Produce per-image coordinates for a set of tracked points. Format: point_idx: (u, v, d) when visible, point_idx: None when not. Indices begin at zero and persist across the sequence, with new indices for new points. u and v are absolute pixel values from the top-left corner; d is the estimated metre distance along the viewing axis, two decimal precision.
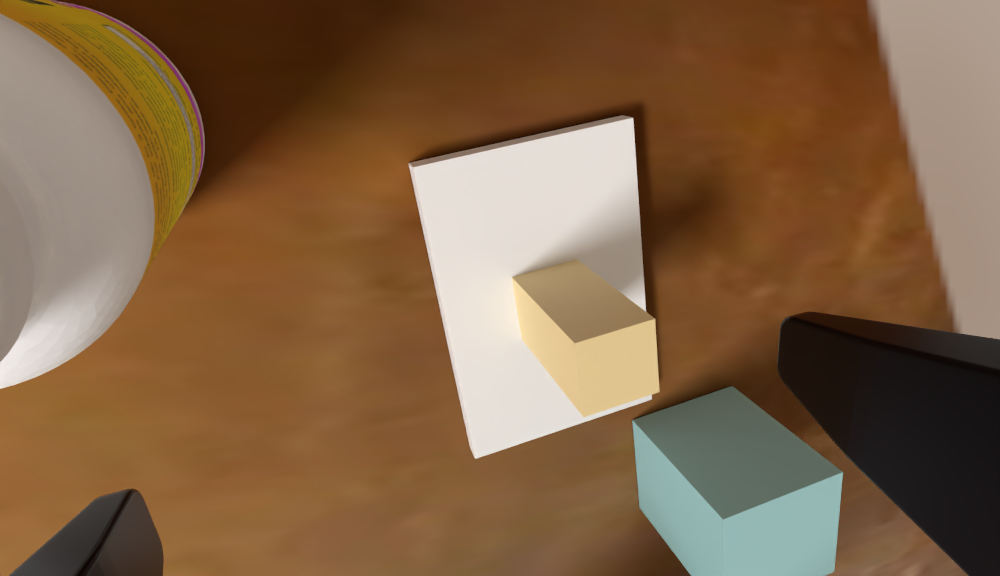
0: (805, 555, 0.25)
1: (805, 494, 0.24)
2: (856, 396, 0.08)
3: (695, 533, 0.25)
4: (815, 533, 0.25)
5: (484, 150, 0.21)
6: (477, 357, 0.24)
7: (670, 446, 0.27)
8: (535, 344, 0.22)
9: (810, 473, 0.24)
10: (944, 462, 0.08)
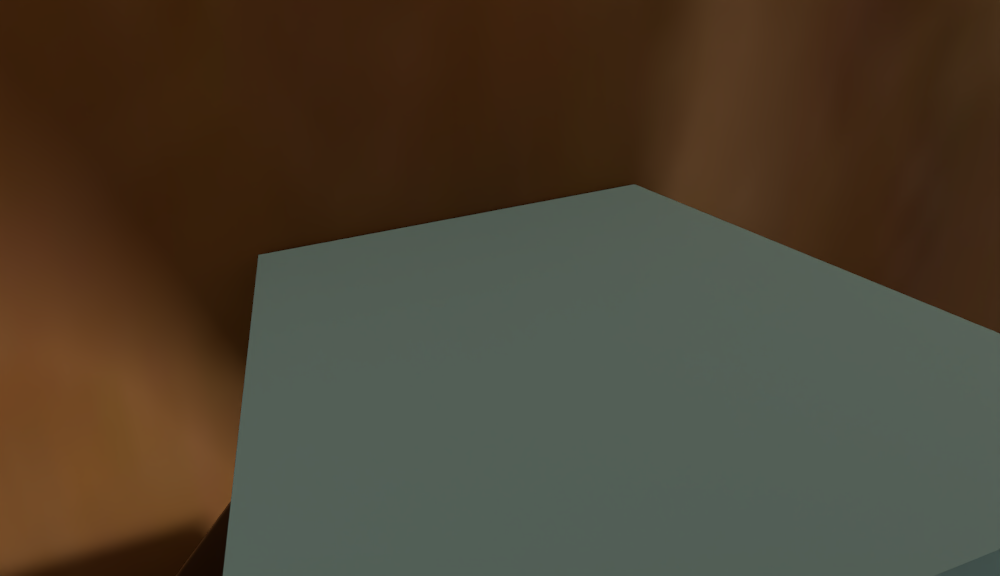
0: None
1: None
2: None
3: None
4: None
5: None
6: None
7: None
8: None
9: None
10: None
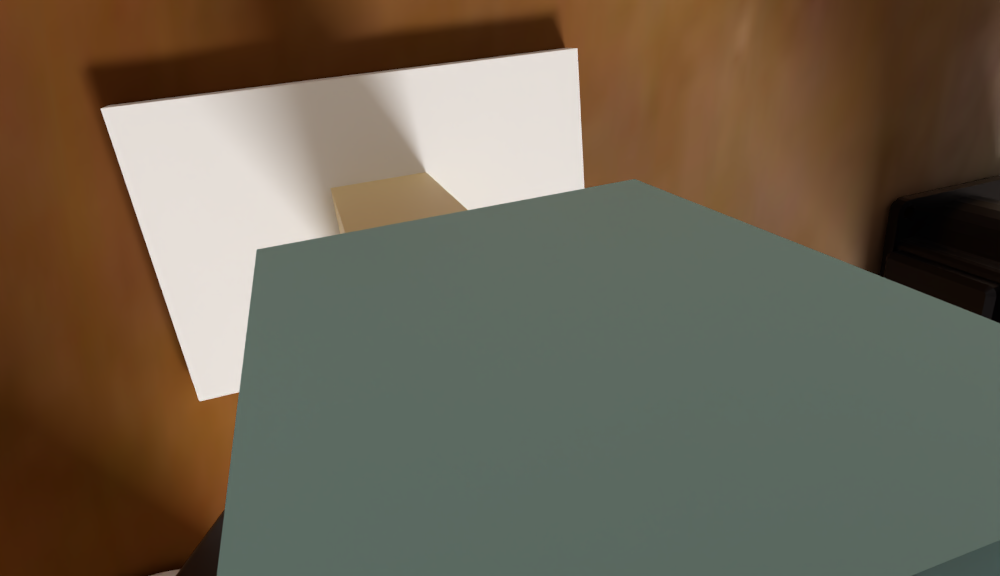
0: None
1: None
2: None
3: None
4: None
5: (173, 319, 0.17)
6: None
7: None
8: None
9: None
10: None
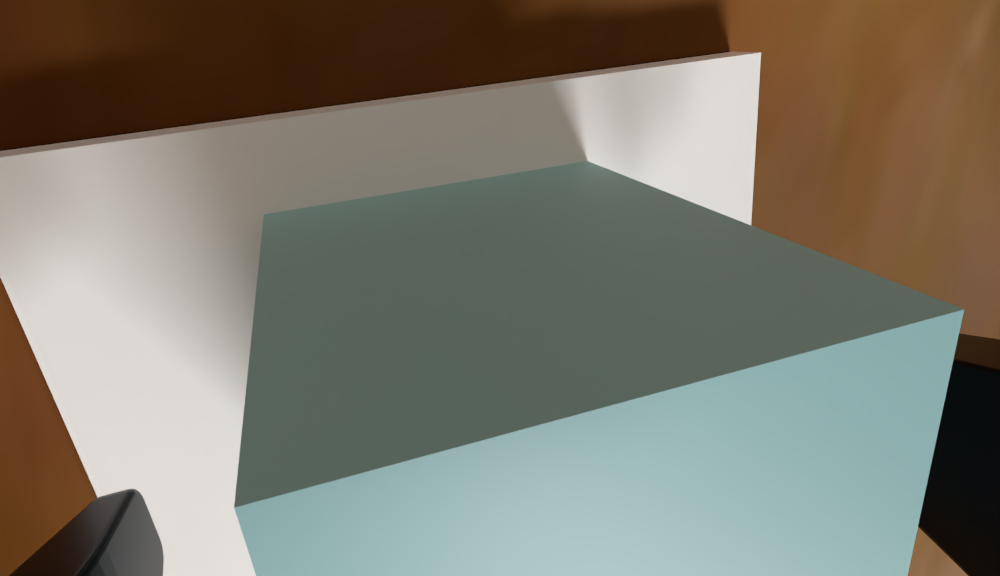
0: (766, 527, 0.05)
1: None
2: None
3: None
4: (655, 524, 0.05)
5: None
6: None
7: None
8: None
9: None
10: (944, 462, 0.08)
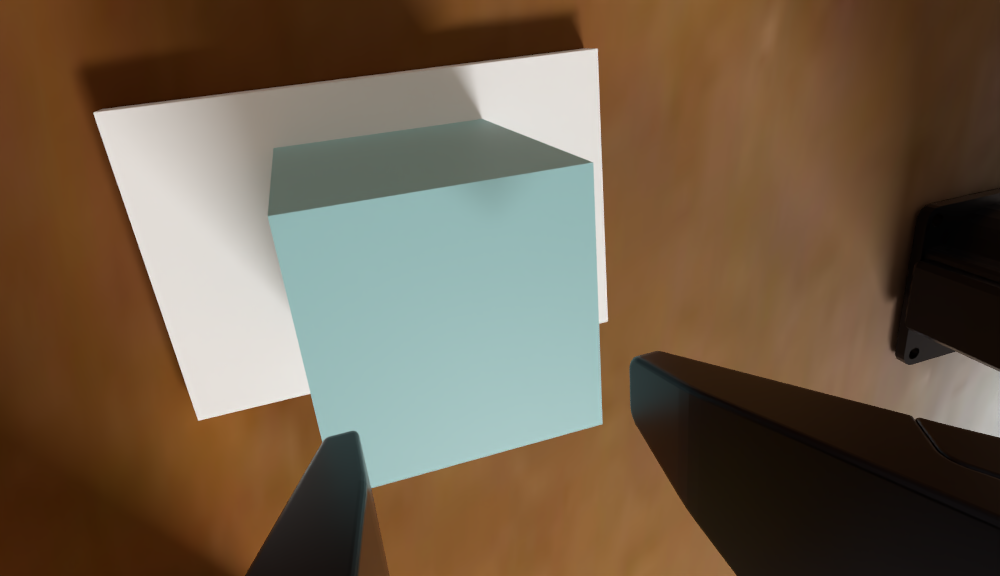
0: (508, 265, 0.11)
1: (316, 313, 0.10)
2: (689, 447, 0.08)
3: None
4: (449, 253, 0.10)
5: (170, 335, 0.16)
6: None
7: None
8: None
9: None
10: (768, 524, 0.07)
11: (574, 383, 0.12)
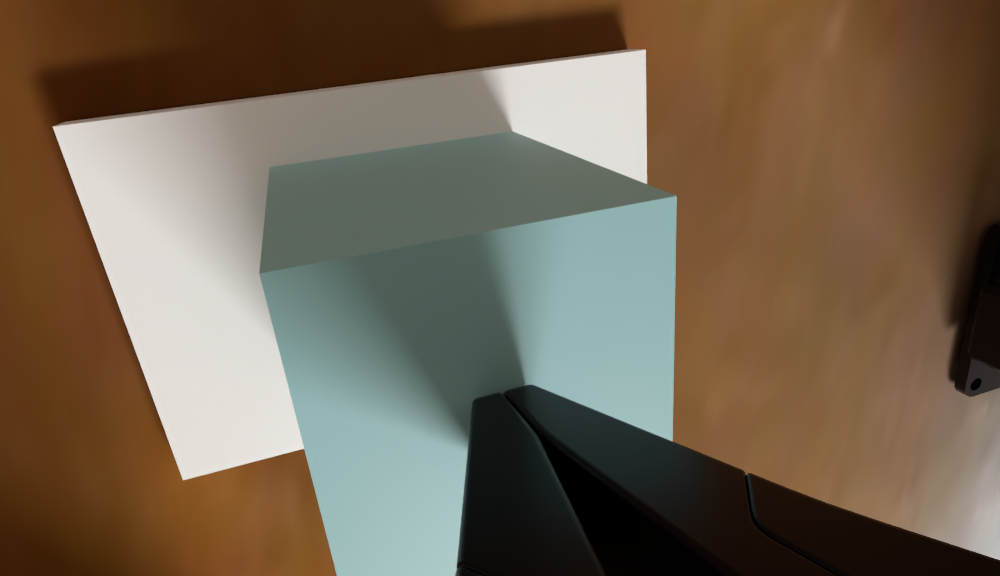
0: (566, 325, 0.08)
1: (324, 394, 0.08)
2: None
3: None
4: (494, 314, 0.08)
5: (150, 384, 0.14)
6: None
7: None
8: None
9: None
10: None
11: None
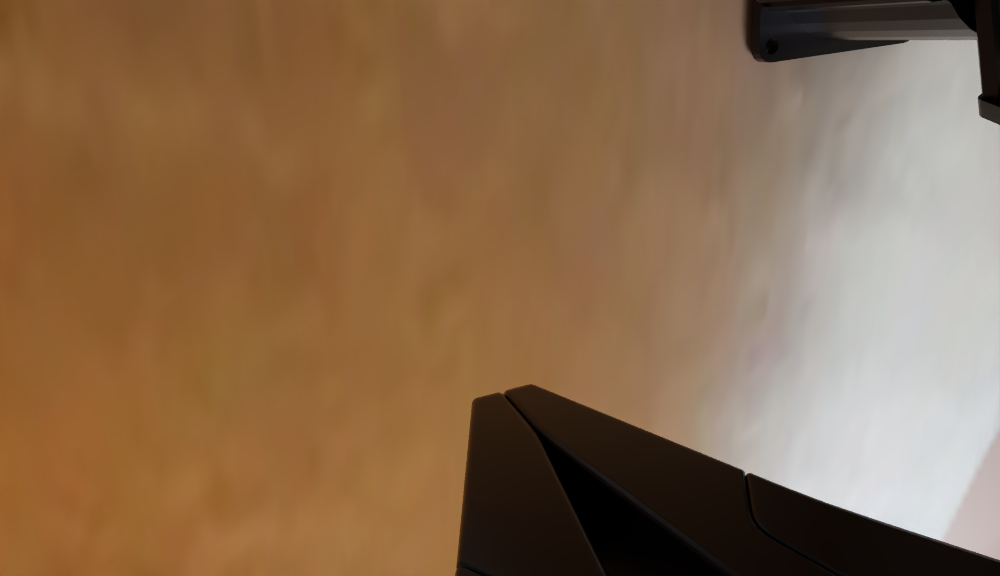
0: None
1: None
2: None
3: None
4: None
5: None
6: None
7: None
8: None
9: None
10: None
11: None
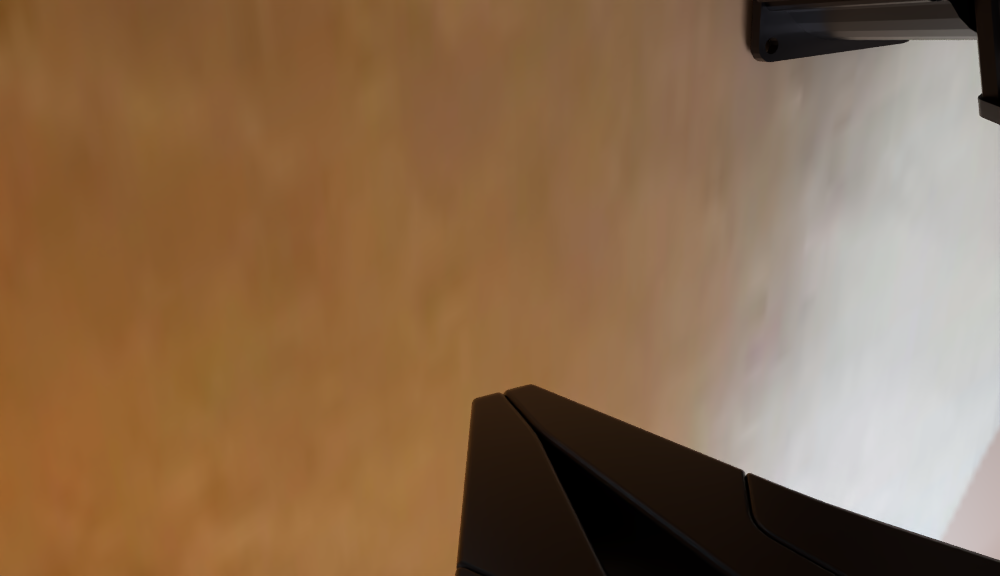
0: None
1: None
2: None
3: None
4: None
5: None
6: None
7: None
8: None
9: None
10: None
11: None
